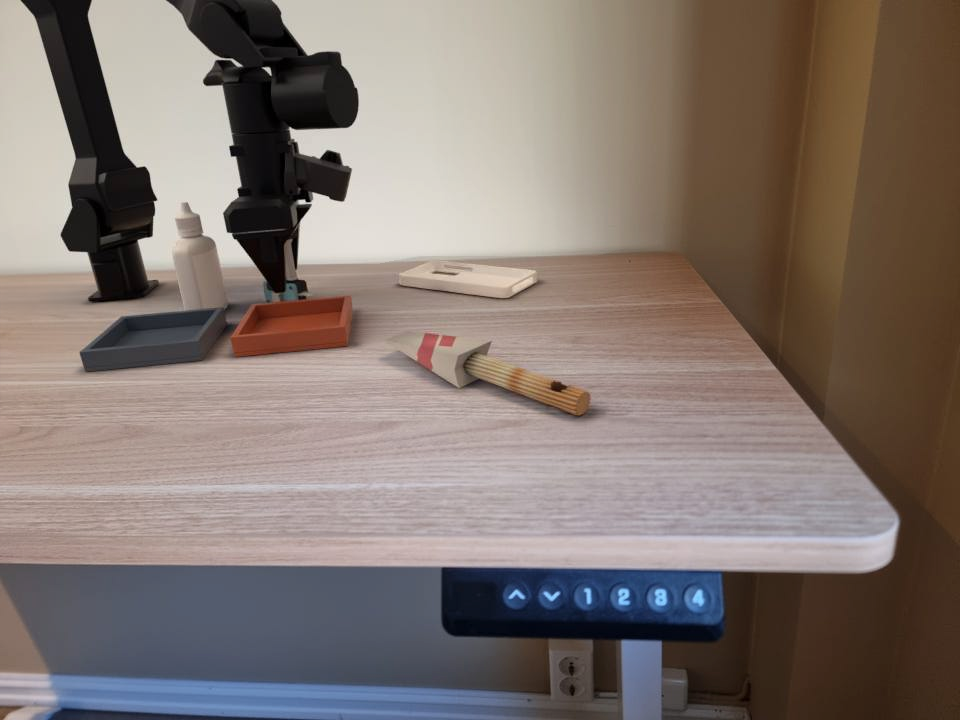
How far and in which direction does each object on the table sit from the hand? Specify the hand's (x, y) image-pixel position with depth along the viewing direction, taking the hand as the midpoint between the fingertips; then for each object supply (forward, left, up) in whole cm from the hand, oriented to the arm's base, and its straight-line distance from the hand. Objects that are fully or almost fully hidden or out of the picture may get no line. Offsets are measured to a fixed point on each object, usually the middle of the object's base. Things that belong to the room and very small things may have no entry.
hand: (286, 280), depth 75 cm
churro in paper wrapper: (+26, +18, -3) cm, 32 cm away
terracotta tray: (+10, +2, -3) cm, 11 cm away
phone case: (-2, +20, -3) cm, 20 cm away
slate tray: (+10, -11, -3) cm, 15 cm away
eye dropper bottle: (0, -9, -3) cm, 9 cm away
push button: (0, 0, -3) cm, 3 cm away
